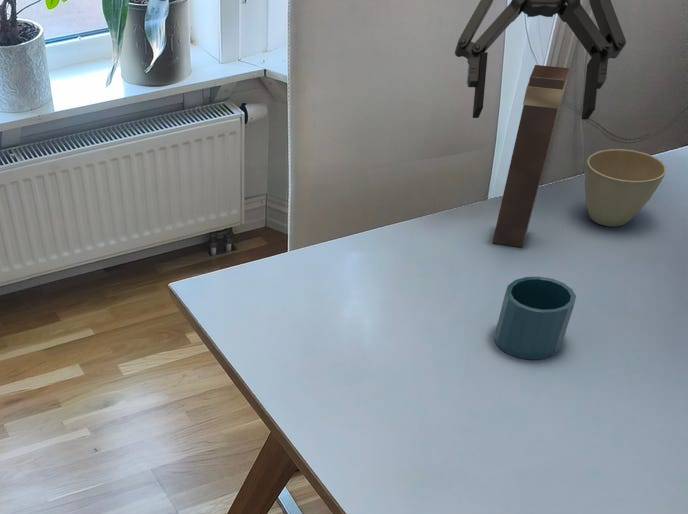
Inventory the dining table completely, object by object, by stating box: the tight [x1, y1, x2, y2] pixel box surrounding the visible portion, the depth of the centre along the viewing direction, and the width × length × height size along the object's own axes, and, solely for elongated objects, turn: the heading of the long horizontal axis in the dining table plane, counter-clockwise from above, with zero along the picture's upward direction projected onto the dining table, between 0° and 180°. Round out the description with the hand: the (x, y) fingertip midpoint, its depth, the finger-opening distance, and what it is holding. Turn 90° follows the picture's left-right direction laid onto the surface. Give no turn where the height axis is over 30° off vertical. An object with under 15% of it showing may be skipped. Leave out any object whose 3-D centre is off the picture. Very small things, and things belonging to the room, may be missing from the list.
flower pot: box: [584, 148, 667, 228], centre depth 119 cm, size 10×10×7 cm
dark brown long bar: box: [492, 64, 570, 248], centre depth 112 cm, size 4×4×20 cm
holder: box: [494, 276, 577, 360], centre depth 102 cm, size 8×8×6 cm
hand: (532, 114), depth 111 cm, fingers open, 13 cm apart
